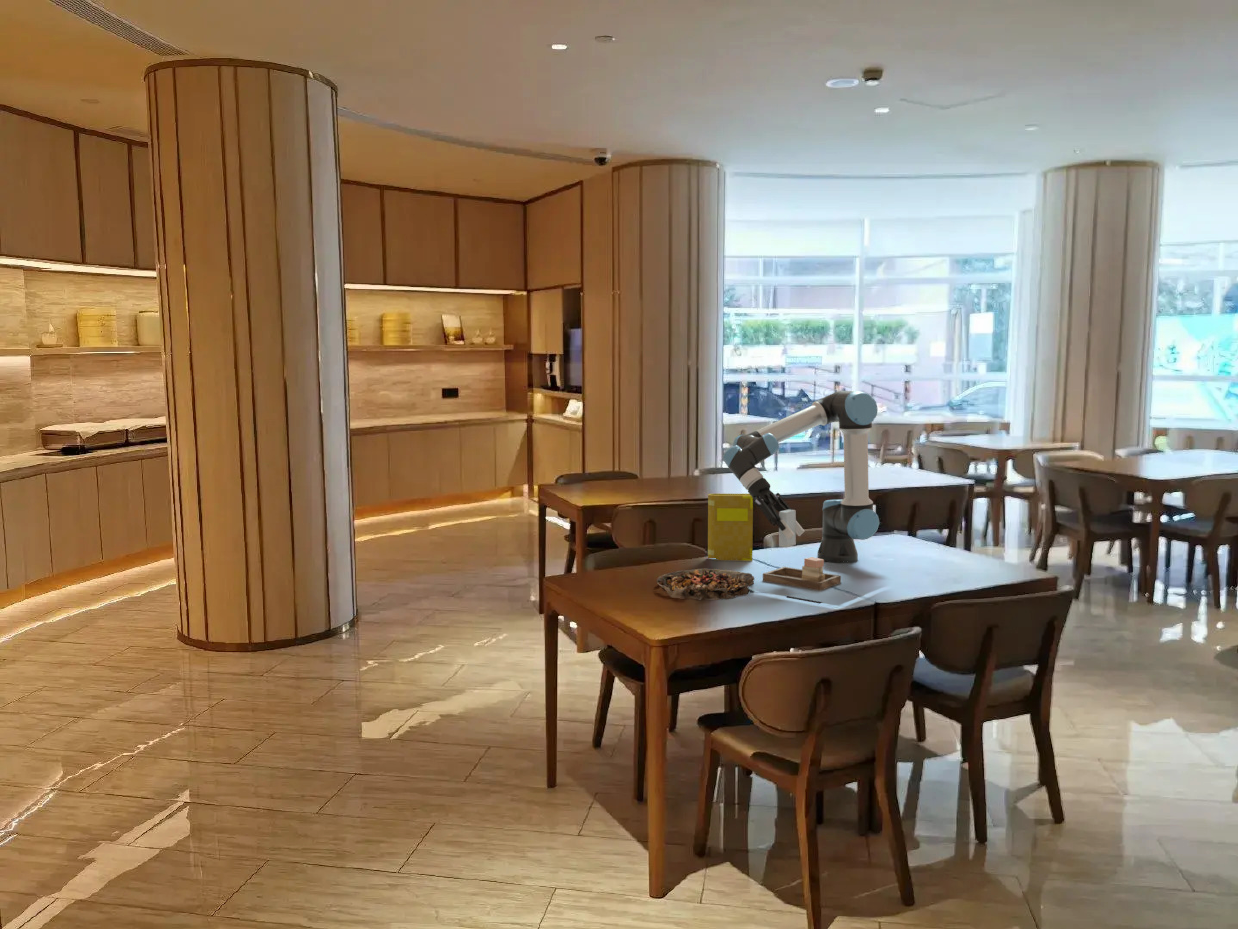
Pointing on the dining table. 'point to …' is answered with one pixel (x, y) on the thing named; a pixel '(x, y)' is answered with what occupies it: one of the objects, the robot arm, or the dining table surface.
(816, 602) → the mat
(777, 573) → the wooden tray
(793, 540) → the white rectangular block
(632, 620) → the dining table surface
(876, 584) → the dining table surface
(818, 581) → the offcut
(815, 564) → the offcut
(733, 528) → the book
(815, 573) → the offcut
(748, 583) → the food dish
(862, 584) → the dining table surface
